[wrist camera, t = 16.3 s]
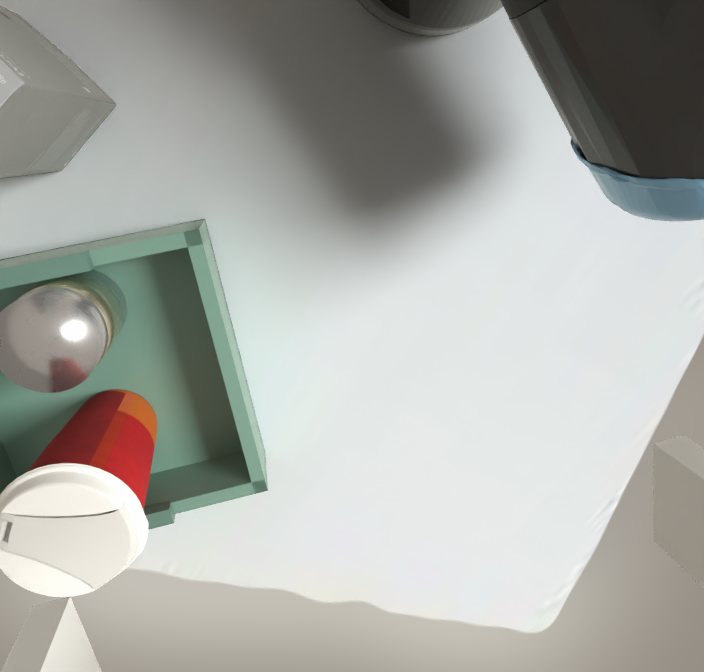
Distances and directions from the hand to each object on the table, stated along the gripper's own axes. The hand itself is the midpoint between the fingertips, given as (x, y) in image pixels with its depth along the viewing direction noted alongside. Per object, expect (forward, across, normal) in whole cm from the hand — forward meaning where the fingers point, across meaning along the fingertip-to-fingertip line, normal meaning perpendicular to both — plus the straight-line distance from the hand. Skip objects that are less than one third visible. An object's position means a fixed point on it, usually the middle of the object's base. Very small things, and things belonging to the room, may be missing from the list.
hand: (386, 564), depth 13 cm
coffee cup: (+34, -15, -9) cm, 39 cm away
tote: (+35, -15, -5) cm, 38 cm away
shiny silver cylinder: (+34, -15, 0) cm, 37 cm away
